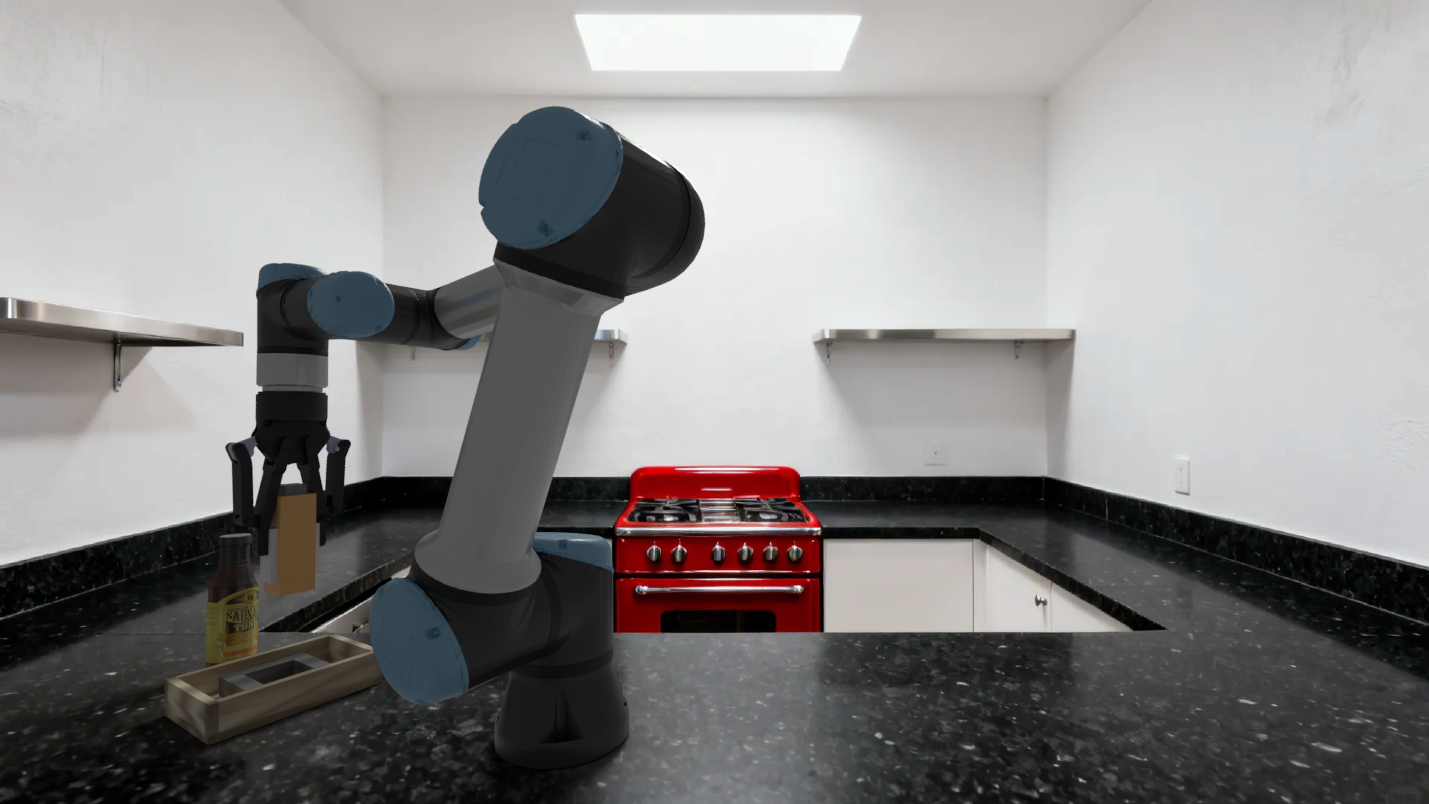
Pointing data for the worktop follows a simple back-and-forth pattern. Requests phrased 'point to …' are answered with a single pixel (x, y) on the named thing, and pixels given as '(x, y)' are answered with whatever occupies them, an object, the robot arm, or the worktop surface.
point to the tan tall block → (294, 540)
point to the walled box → (268, 686)
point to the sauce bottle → (232, 603)
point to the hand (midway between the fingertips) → (290, 576)
